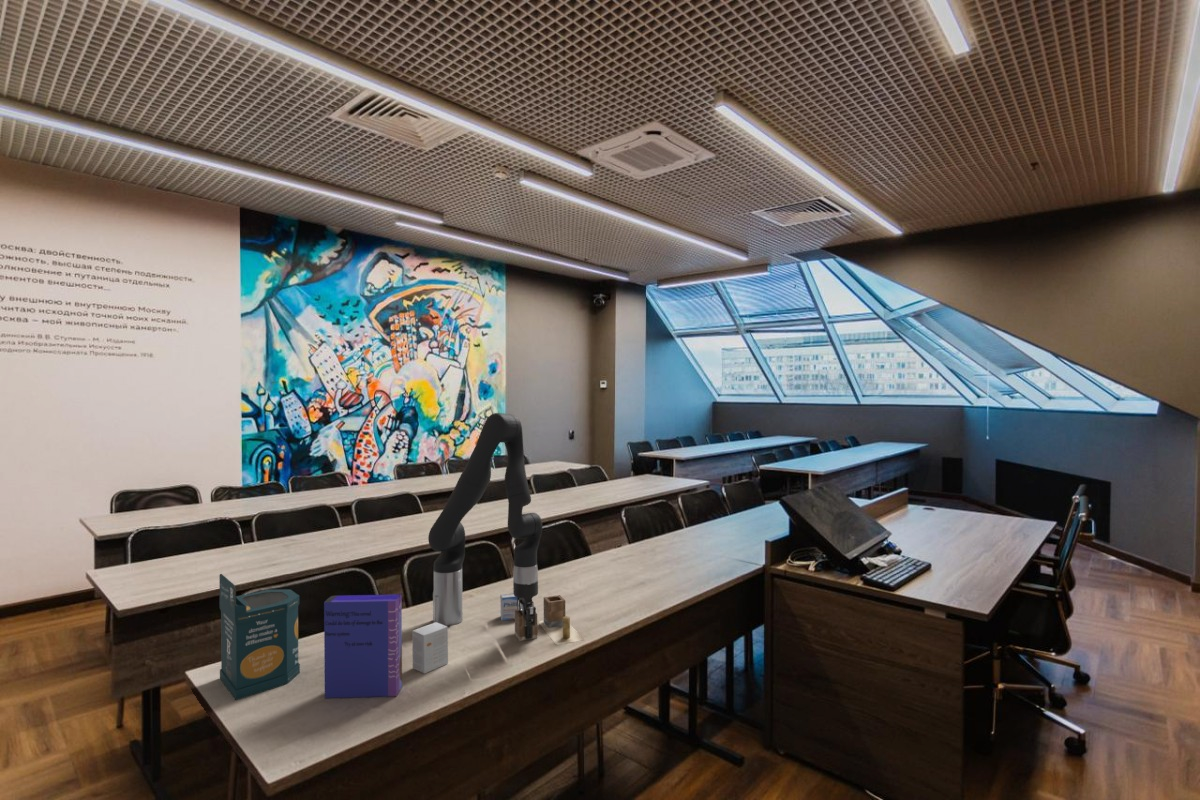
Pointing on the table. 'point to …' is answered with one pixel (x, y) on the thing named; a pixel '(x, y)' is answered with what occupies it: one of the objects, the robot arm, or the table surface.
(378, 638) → the cereal box
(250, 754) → the table surface
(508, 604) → the medicine box
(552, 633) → the pin board
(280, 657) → the donation box
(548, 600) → the wooden pen holder
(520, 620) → the sleeve brown
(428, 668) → the small box
